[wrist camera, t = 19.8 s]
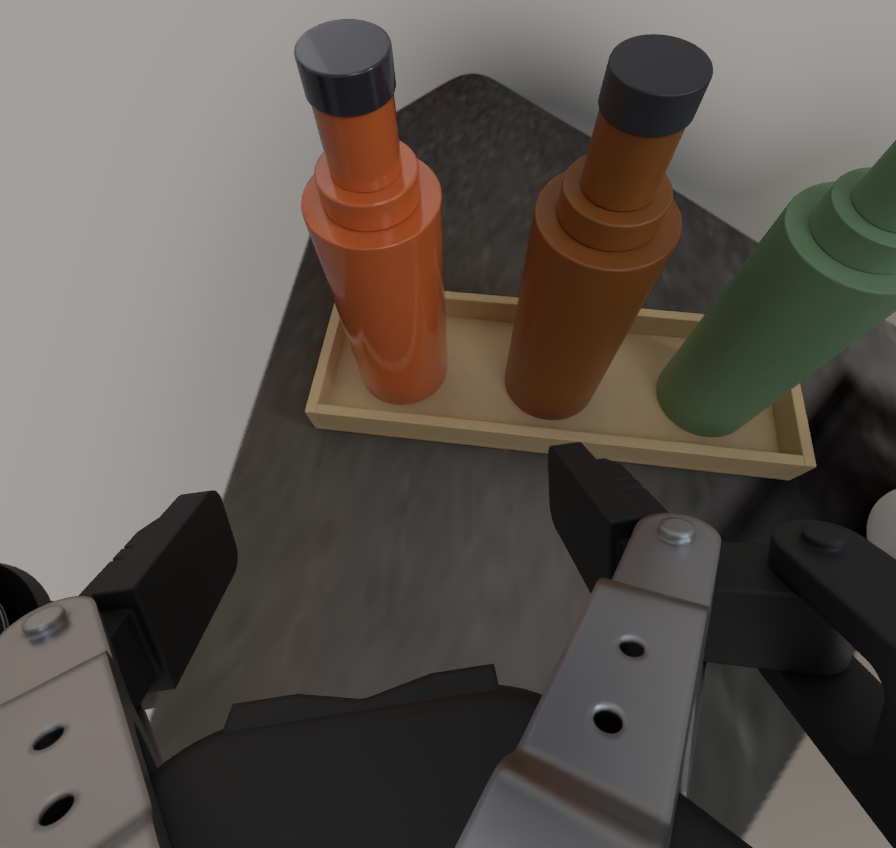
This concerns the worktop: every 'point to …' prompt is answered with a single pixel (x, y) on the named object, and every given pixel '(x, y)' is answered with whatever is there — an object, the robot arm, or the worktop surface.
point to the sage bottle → (790, 303)
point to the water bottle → (883, 524)
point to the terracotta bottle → (374, 214)
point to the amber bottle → (604, 228)
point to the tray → (597, 426)
